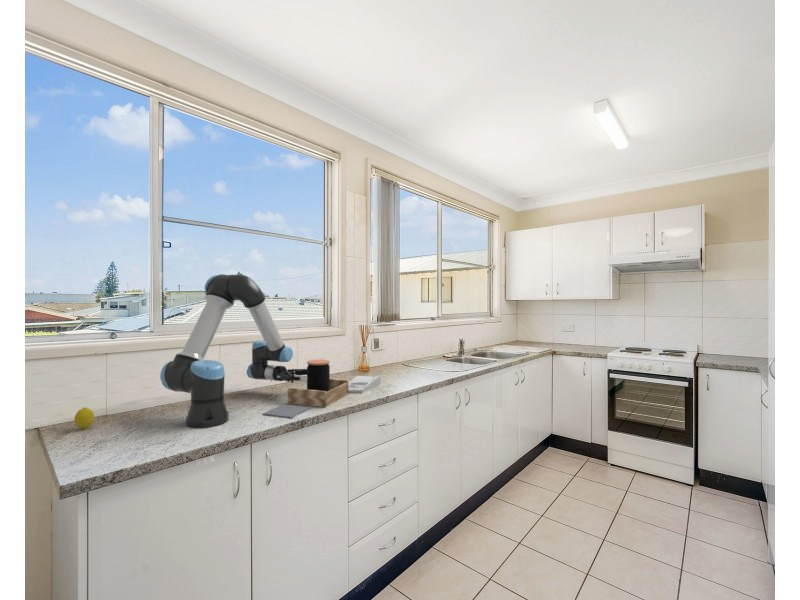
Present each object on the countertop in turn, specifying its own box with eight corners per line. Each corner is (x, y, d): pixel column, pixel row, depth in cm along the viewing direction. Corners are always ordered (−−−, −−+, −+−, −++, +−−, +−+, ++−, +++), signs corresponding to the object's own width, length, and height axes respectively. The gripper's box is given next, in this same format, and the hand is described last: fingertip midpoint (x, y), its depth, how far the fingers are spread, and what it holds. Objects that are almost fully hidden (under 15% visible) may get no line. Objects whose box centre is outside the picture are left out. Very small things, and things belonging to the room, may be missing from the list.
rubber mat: (292, 418, 155) (292, 416, 155) (262, 414, 159) (262, 413, 159) (310, 408, 169) (310, 407, 169) (282, 405, 173) (282, 404, 173)
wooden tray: (348, 394, 194) (348, 380, 194) (325, 407, 171) (325, 391, 171) (314, 390, 200) (314, 377, 200) (287, 403, 176) (287, 388, 176)
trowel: (350, 397, 190) (351, 386, 190) (331, 391, 201) (331, 381, 201) (390, 387, 211) (390, 377, 211) (370, 382, 222) (370, 373, 221)
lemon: (91, 425, 145) (91, 404, 145) (95, 428, 141) (95, 407, 141) (72, 429, 141) (72, 407, 141) (76, 432, 137) (76, 410, 137)
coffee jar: (332, 395, 190) (332, 359, 190) (325, 401, 180) (326, 363, 179) (311, 395, 191) (311, 359, 191) (303, 401, 181) (303, 362, 180)
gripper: (290, 375, 205) (326, 378, 199) (260, 386, 181) (300, 389, 175) (290, 361, 205) (326, 364, 199) (260, 370, 181) (300, 373, 175)
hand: (314, 376), depth 187 cm, fingers open, 13 cm apart
